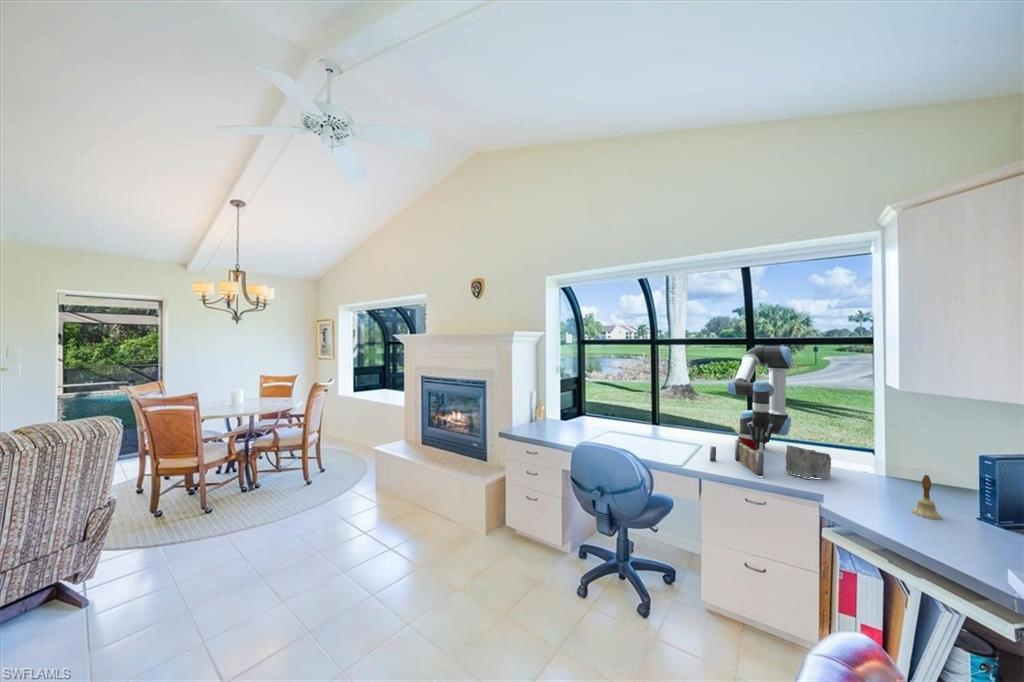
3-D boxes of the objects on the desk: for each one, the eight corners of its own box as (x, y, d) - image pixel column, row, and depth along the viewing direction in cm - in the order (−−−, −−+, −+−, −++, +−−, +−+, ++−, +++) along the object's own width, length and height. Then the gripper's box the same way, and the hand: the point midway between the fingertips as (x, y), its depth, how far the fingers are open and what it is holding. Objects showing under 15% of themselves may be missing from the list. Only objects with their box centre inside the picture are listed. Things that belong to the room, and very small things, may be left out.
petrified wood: (828, 473, 200) (829, 444, 200) (833, 484, 185) (834, 453, 185) (784, 466, 210) (785, 439, 210) (785, 476, 196) (786, 447, 195)
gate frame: (707, 458, 222) (708, 438, 222) (739, 460, 220) (740, 439, 220) (728, 476, 195) (728, 452, 195) (764, 477, 193) (764, 454, 193)
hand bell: (933, 520, 149) (934, 480, 149) (906, 511, 157) (907, 472, 157) (946, 518, 152) (948, 478, 151) (919, 508, 160) (920, 470, 159)
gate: (739, 461, 216) (739, 443, 216) (741, 461, 216) (741, 443, 216) (756, 473, 197) (756, 453, 197) (759, 473, 197) (759, 453, 196)
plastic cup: (763, 459, 222) (763, 438, 222) (744, 458, 222) (744, 438, 222) (752, 453, 233) (752, 433, 233) (734, 453, 233) (734, 433, 233)
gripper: (750, 411, 201) (749, 456, 202) (778, 412, 199) (777, 458, 200) (744, 409, 209) (743, 452, 209) (771, 410, 206) (770, 453, 207)
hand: (760, 455), depth 204 cm, fingers closed
